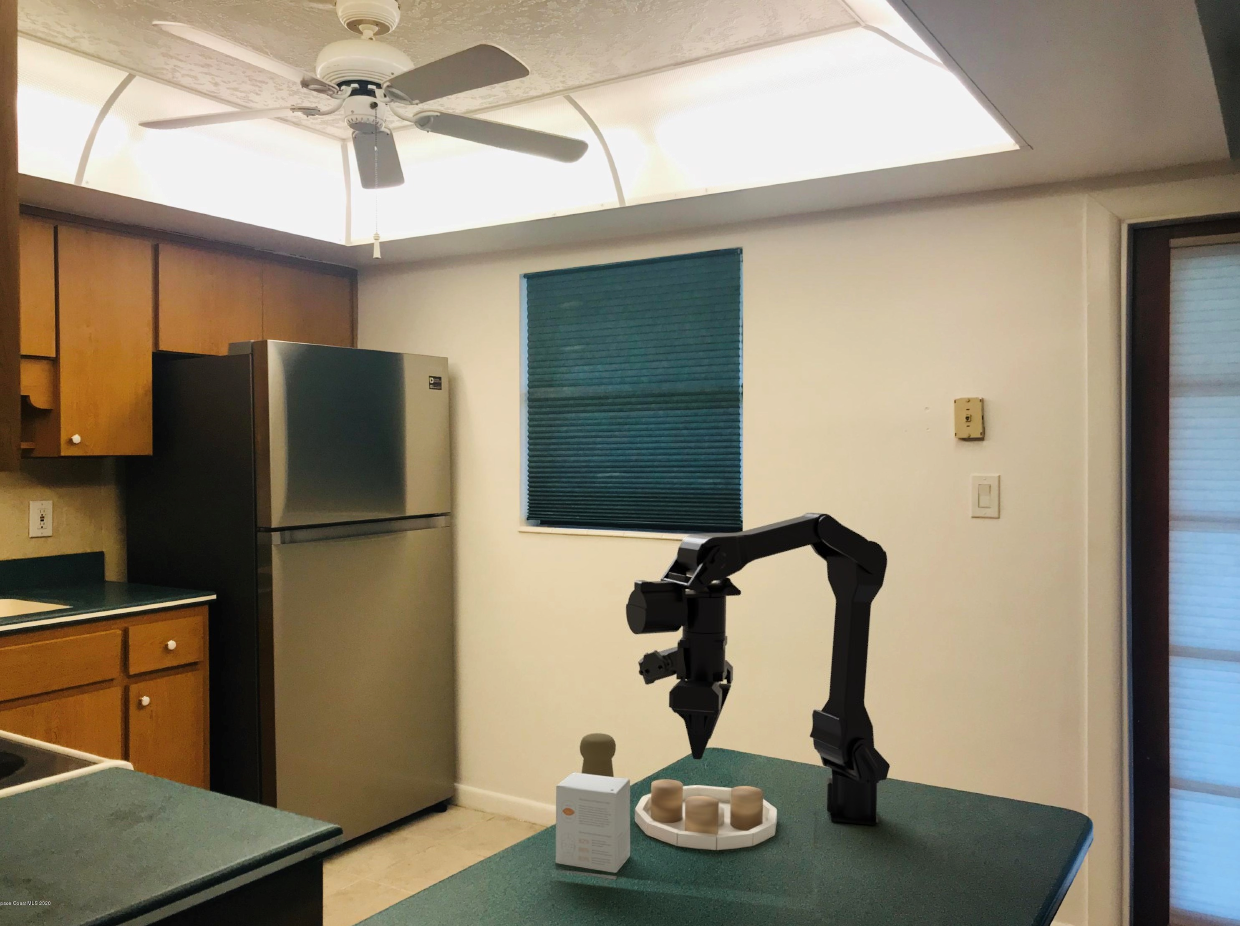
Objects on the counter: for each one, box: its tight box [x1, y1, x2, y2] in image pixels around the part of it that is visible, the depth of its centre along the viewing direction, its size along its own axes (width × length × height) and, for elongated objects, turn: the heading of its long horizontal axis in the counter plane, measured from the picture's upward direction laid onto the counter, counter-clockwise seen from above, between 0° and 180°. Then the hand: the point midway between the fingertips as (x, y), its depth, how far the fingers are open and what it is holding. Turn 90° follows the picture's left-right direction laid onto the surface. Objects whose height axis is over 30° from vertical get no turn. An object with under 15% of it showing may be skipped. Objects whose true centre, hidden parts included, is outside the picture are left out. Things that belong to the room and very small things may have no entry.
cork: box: [579, 732, 617, 777], centre depth 132 cm, size 6×6×11 cm
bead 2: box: [685, 796, 719, 834], centre depth 121 cm, size 4×4×4 cm
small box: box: [555, 772, 631, 881], centre depth 113 cm, size 8×6×10 cm
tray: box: [634, 784, 778, 851], centre depth 126 cm, size 19×19×3 cm
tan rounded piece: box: [730, 785, 764, 831], centre depth 125 cm, size 4×4×4 cm
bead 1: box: [650, 778, 684, 823], centre depth 127 cm, size 4×4×4 cm
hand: (702, 748), depth 121 cm, fingers open, 9 cm apart
